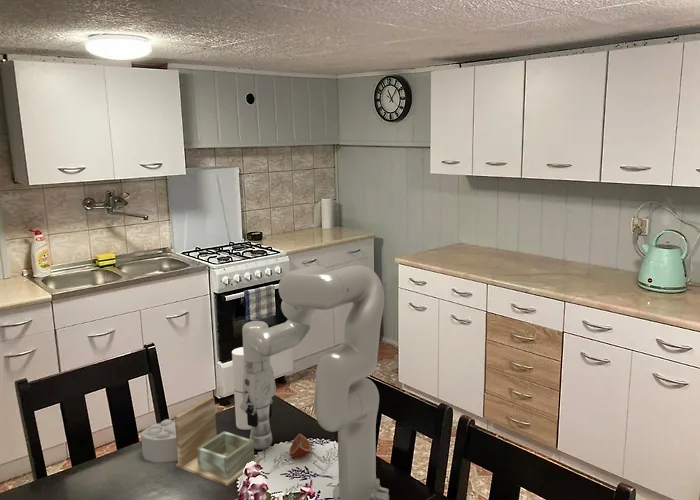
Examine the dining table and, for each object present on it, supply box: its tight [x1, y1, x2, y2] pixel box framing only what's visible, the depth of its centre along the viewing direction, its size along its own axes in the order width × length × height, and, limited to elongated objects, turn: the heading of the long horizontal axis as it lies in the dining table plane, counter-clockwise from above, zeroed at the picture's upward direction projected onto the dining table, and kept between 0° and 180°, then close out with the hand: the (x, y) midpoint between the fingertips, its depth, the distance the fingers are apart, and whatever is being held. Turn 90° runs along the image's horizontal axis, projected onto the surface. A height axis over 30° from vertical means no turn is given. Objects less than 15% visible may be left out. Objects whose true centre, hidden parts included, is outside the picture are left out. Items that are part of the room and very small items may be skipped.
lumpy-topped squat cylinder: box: [140, 418, 178, 463], centre depth 169 cm, size 10×13×9 cm
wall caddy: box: [173, 395, 261, 487], centre depth 162 cm, size 19×14×16 cm
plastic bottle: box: [249, 399, 273, 451], centre depth 170 cm, size 6×7×20 cm
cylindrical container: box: [231, 346, 251, 430], centre depth 183 cm, size 7×7×25 cm
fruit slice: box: [288, 432, 313, 459], centre depth 167 cm, size 8×7×5 cm
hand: (260, 420), depth 170 cm, fingers closed on plastic bottle, 6 cm apart
